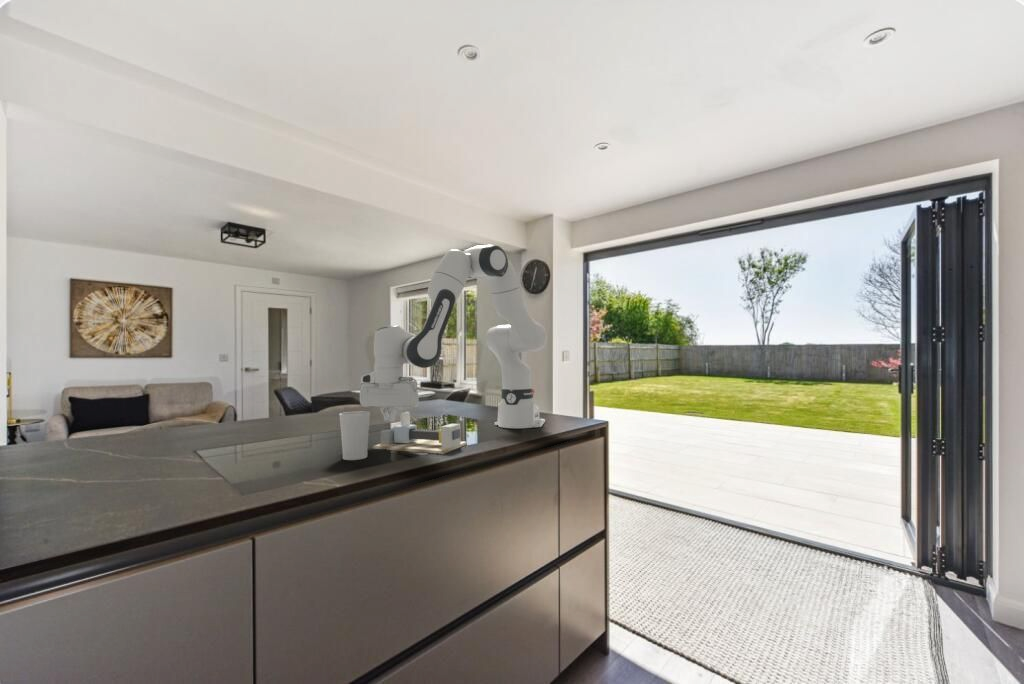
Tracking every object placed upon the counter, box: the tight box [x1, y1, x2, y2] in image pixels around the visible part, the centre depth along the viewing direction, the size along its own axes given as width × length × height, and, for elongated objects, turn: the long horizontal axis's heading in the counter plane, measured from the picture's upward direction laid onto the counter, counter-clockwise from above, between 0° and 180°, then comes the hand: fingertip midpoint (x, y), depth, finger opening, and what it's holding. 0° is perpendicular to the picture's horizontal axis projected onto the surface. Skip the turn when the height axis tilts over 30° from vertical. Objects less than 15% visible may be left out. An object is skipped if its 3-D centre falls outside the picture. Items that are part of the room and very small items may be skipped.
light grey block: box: [380, 428, 396, 445], centre depth 138 cm, size 3×8×4 cm, turn 158°
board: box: [372, 439, 468, 455], centre depth 134 cm, size 24×14×1 cm, turn 68°
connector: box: [440, 423, 462, 448], centre depth 130 cm, size 4×6×6 cm, turn 158°
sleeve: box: [393, 411, 418, 443], centre depth 137 cm, size 5×5×9 cm
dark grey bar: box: [389, 427, 441, 443], centre depth 135 cm, size 20×4×4 cm, turn 68°
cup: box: [339, 410, 371, 461], centre depth 121 cm, size 8×8×12 cm
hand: (389, 421), depth 139 cm, fingers closed
